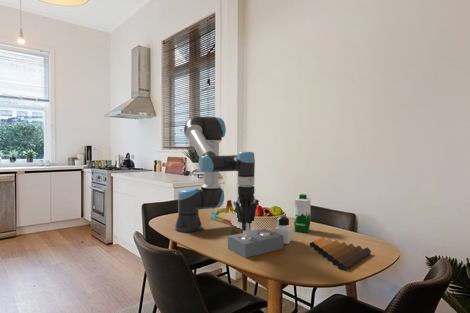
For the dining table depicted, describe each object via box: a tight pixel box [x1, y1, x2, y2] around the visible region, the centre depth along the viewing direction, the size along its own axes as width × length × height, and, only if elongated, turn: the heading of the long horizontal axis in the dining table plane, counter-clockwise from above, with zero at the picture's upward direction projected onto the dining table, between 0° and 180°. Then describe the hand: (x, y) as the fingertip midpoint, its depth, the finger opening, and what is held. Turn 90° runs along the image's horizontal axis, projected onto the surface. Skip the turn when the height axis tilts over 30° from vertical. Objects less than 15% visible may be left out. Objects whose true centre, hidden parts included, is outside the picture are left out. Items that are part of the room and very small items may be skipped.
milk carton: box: [293, 193, 311, 233], centre depth 170 cm, size 9×9×20 cm
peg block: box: [227, 228, 284, 259], centre depth 141 cm, size 14×22×6 cm, turn 124°
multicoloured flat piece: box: [210, 199, 235, 227], centre depth 186 cm, size 30×3×15 cm, turn 40°
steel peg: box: [260, 232, 270, 236], centre depth 144 cm, size 5×5×5 cm
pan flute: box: [309, 236, 372, 272], centre depth 133 cm, size 25×3×25 cm
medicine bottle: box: [274, 216, 292, 245], centre depth 151 cm, size 7×7×12 cm
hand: (246, 237), depth 137 cm, fingers closed
